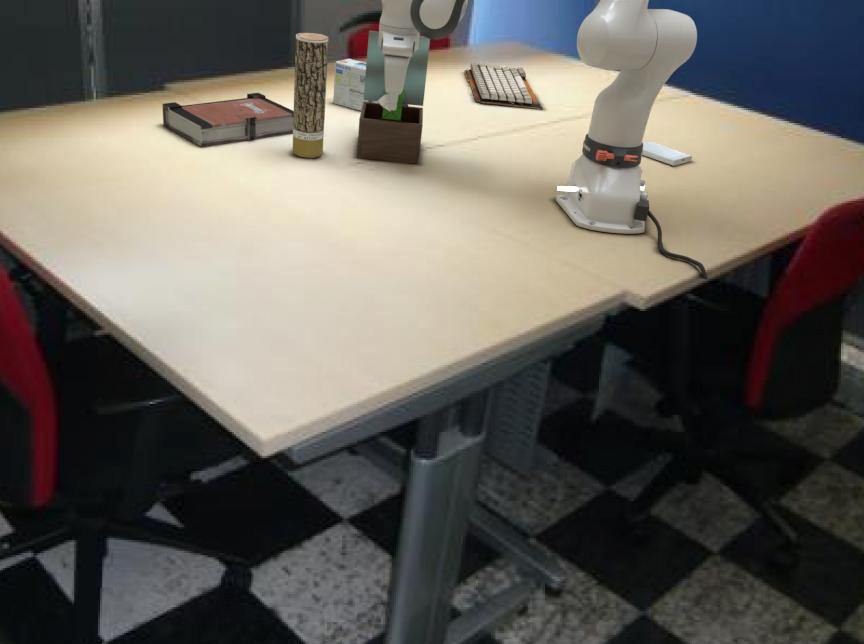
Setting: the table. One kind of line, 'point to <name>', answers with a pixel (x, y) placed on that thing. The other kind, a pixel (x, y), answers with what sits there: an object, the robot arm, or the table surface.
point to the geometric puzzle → (392, 113)
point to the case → (389, 134)
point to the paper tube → (309, 94)
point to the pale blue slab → (414, 74)
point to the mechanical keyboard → (501, 86)
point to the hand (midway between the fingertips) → (393, 104)
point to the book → (228, 120)
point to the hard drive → (665, 154)
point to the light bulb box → (350, 83)
